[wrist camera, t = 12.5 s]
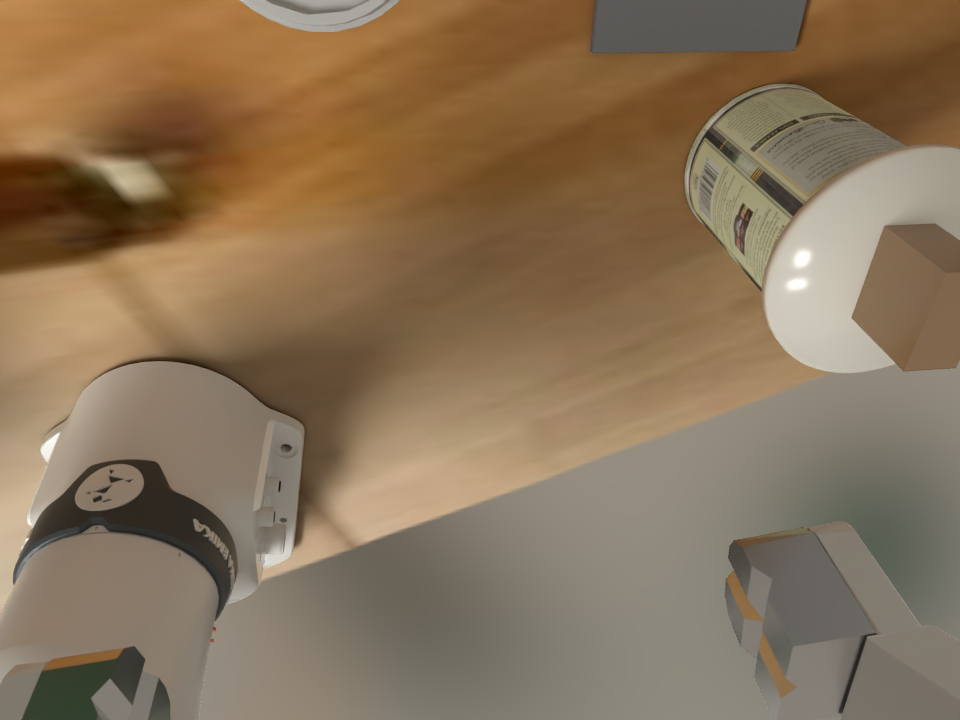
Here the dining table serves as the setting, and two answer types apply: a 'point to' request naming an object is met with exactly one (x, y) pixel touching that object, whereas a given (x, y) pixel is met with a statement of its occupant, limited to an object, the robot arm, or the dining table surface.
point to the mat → (695, 25)
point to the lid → (873, 267)
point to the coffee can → (770, 165)
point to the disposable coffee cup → (321, 12)
